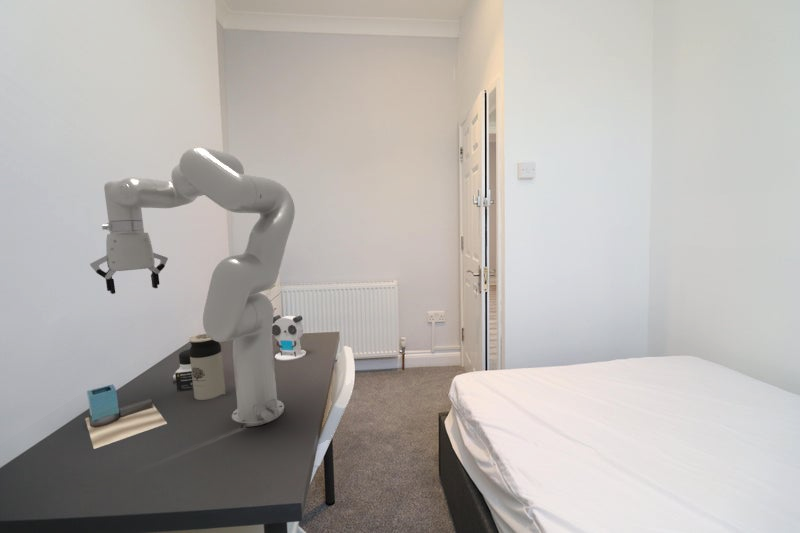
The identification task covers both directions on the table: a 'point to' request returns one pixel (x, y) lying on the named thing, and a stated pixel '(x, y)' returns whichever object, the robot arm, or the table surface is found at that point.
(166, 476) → the table surface
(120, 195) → the robot arm
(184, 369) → the medicine bottle
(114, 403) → the hollow square tube
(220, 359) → the travel mug
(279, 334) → the panda figurine
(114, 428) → the door lever plate
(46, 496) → the table surface
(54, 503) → the table surface
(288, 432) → the table surface
